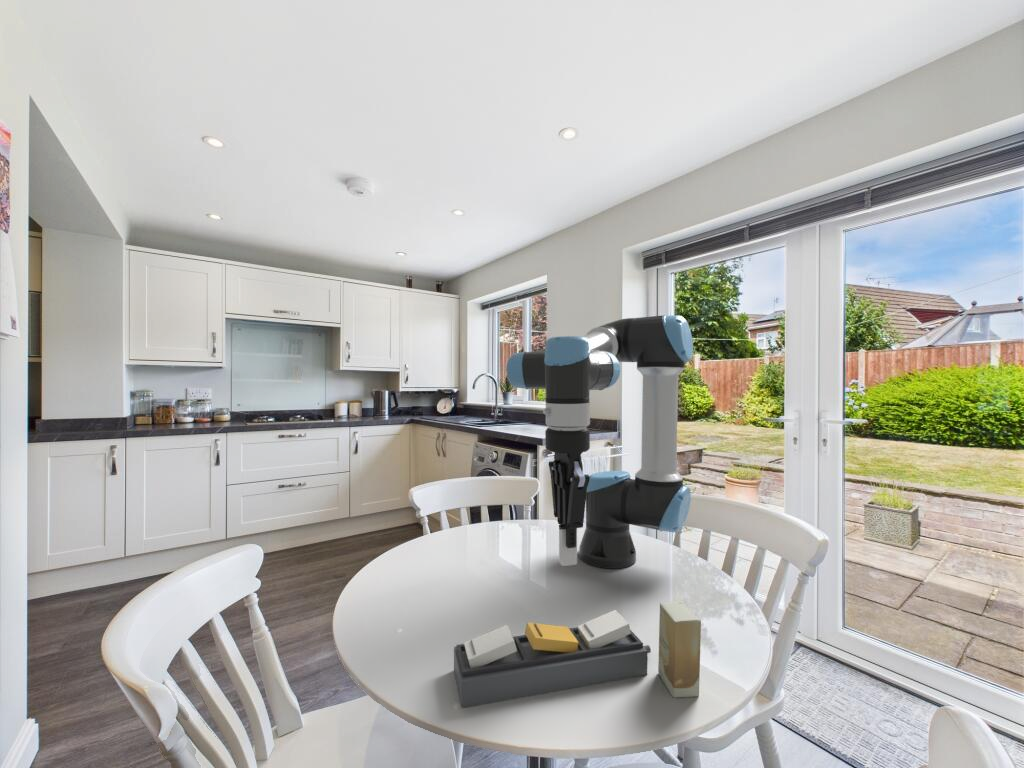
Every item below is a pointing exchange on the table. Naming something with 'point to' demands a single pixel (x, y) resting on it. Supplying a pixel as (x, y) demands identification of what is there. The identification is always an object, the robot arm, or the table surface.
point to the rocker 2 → (604, 630)
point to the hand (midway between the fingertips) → (568, 563)
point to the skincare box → (679, 649)
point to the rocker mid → (551, 637)
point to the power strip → (547, 669)
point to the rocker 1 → (490, 647)
